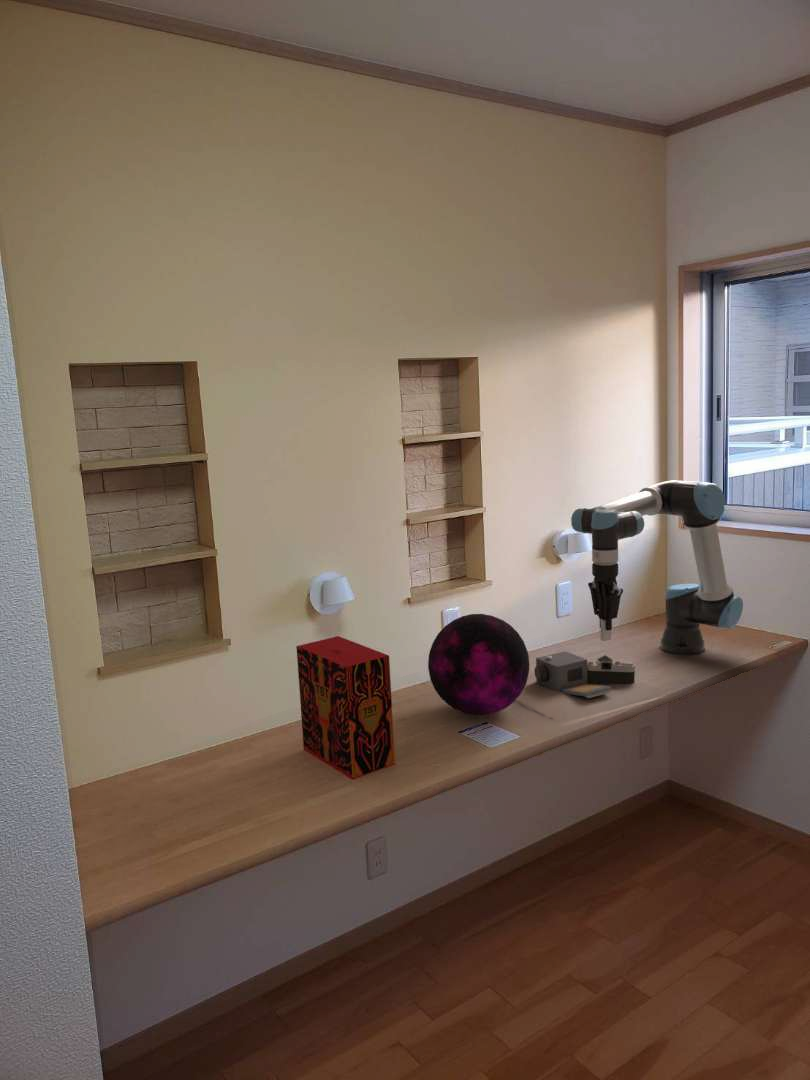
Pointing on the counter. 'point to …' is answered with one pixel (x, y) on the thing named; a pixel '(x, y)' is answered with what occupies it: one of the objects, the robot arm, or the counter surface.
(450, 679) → the purple mottled sphere
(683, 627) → the robot arm
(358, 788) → the counter surface
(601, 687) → the side door
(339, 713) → the box
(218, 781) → the counter surface
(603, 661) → the camera
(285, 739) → the counter surface
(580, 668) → the box
